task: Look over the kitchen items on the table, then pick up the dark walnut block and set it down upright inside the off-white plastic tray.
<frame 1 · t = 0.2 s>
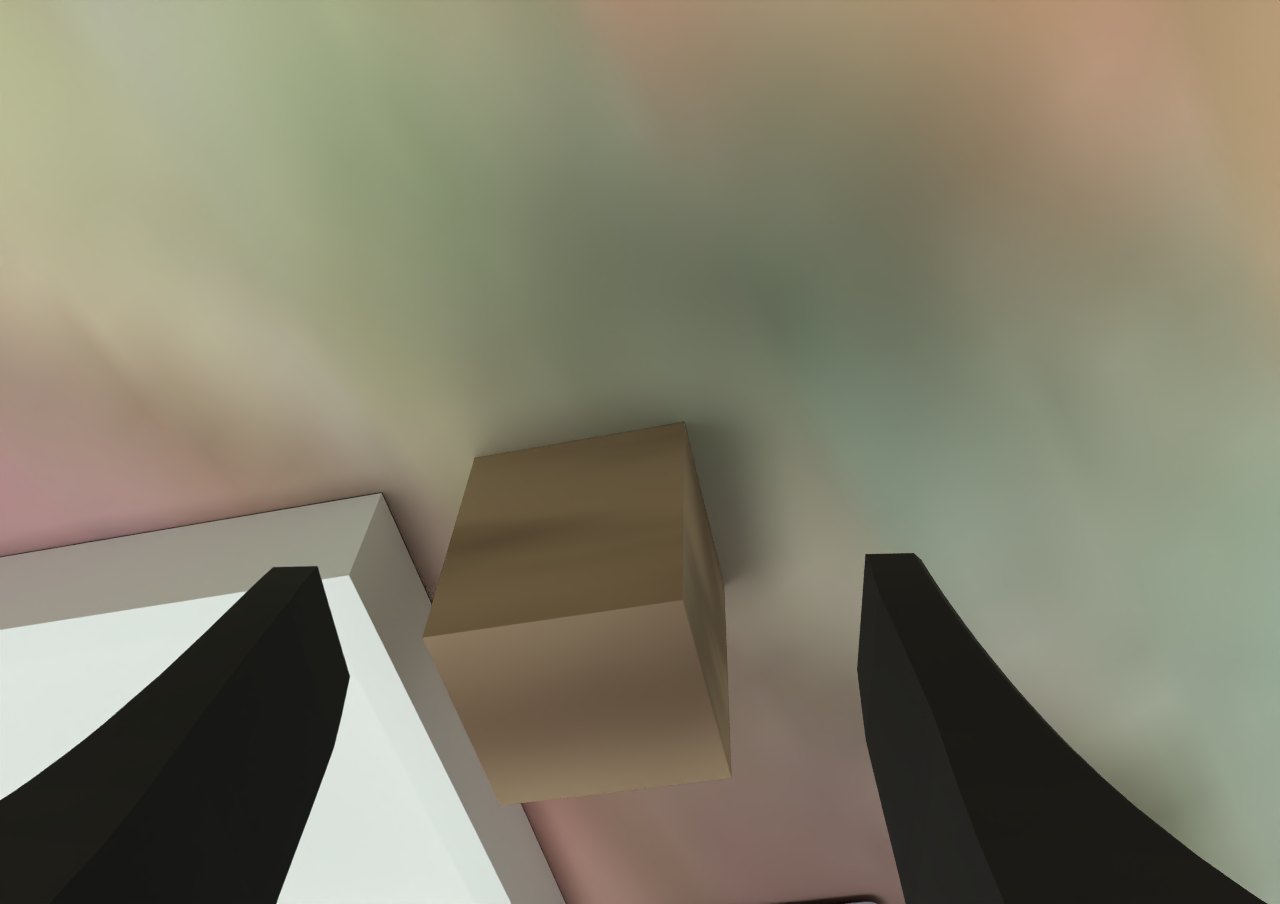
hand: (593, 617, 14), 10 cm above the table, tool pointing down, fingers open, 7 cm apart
walnut block: (604, 523, 26), on the table
tray: (205, 779, 32), on the table
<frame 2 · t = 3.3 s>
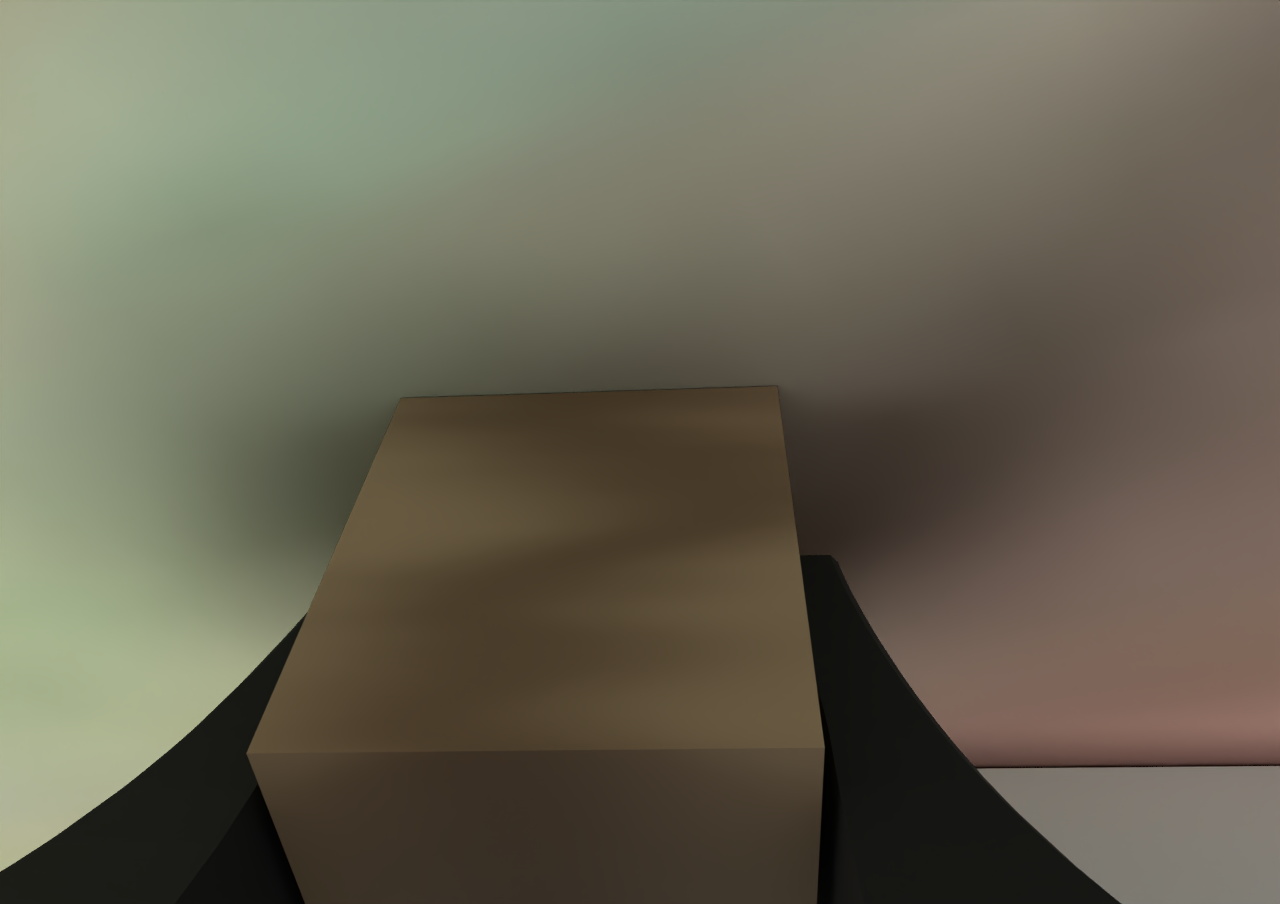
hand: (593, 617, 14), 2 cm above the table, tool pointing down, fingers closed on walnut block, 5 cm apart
walnut block: (601, 540, 16), on the table, touching gripper
when the fingers open (4 cm above the table, at t = 7.0 s): walnut block drops 2 cm, resting on tray.
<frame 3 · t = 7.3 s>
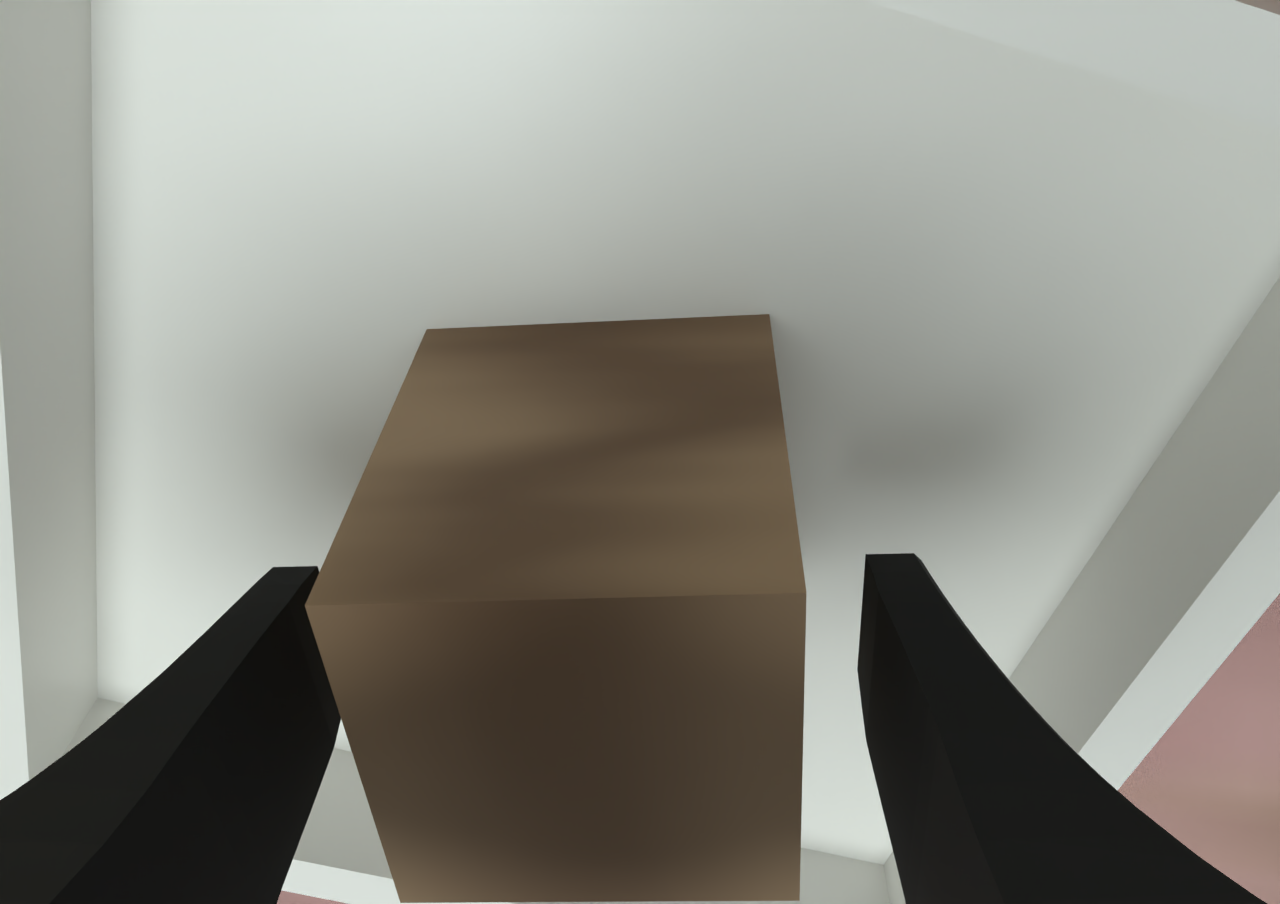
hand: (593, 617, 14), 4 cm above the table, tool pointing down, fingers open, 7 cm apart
walnut block: (610, 463, 17), resting on tray
tray: (611, 452, 17), on the table
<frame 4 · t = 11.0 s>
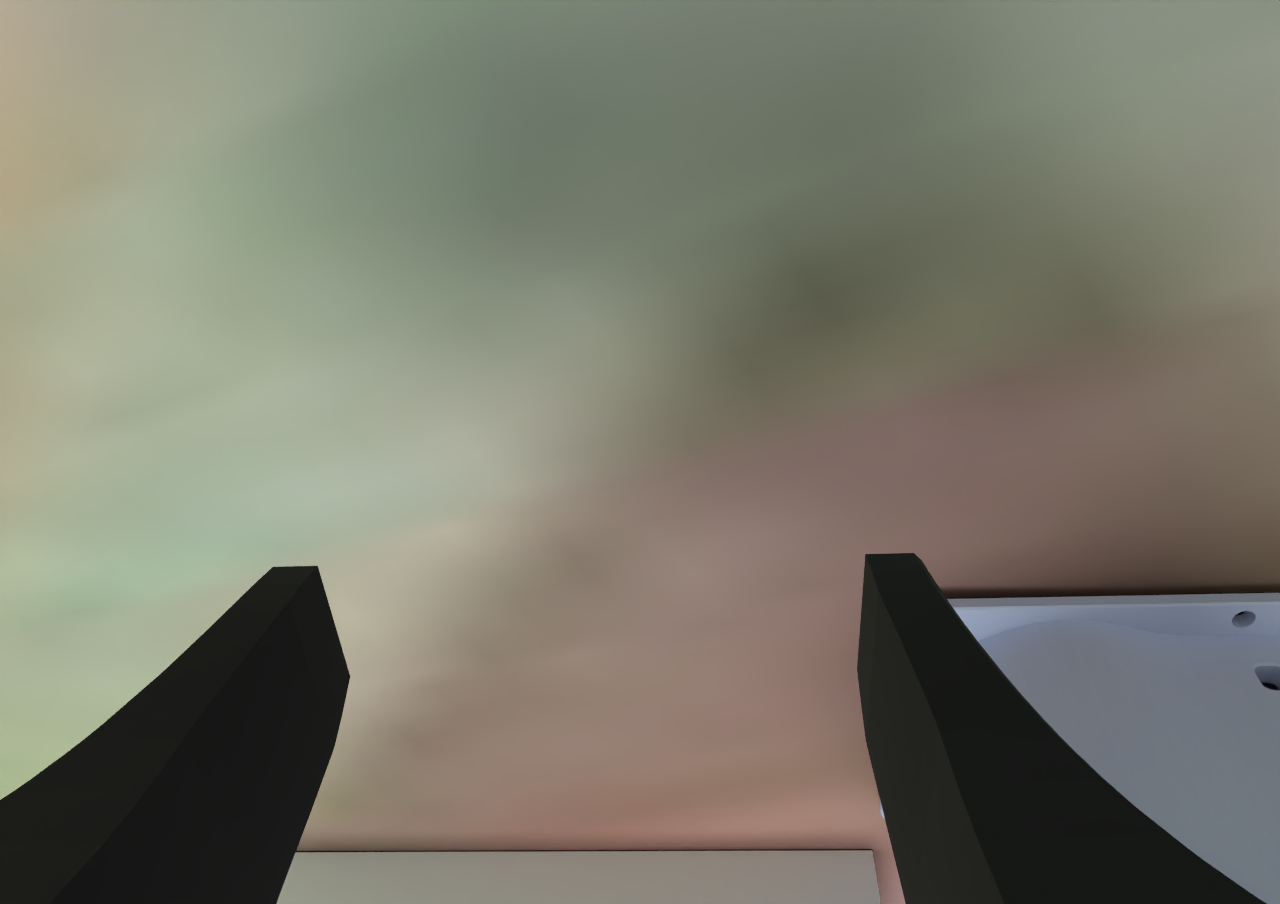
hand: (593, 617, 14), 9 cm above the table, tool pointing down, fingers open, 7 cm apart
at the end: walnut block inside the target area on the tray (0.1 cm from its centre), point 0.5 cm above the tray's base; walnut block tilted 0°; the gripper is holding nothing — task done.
